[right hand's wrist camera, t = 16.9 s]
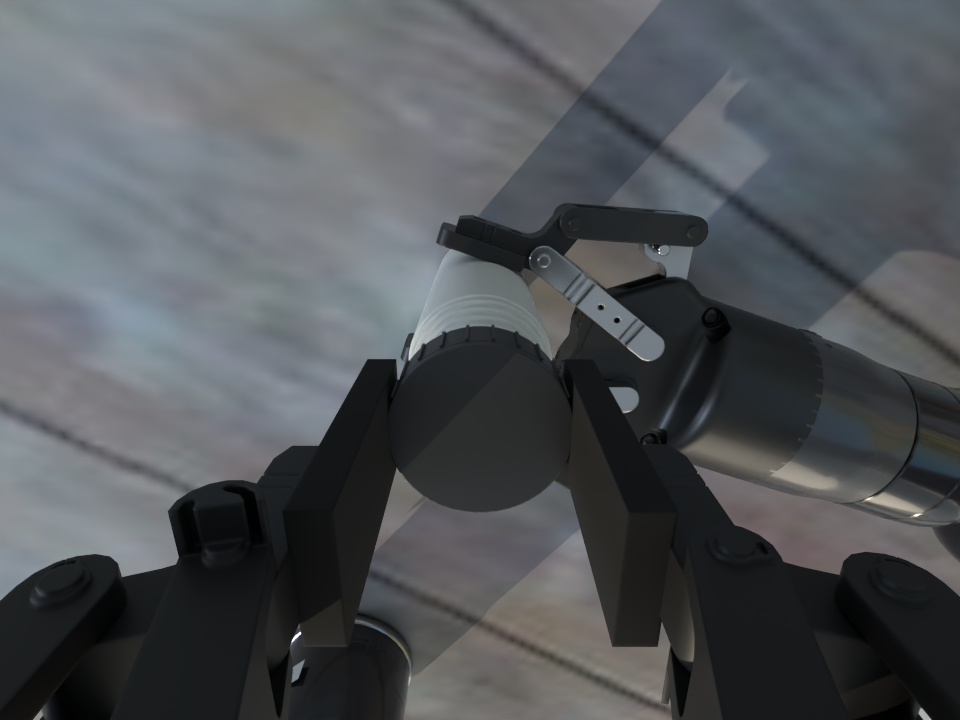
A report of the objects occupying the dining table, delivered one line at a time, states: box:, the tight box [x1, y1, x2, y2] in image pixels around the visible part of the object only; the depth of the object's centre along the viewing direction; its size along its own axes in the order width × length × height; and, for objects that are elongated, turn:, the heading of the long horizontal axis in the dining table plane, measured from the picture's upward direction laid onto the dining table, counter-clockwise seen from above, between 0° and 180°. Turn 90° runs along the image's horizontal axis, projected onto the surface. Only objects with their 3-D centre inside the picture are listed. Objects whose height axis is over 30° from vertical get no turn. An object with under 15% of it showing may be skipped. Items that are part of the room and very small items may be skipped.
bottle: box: [409, 249, 552, 361], centre depth 22 cm, size 5×5×18 cm
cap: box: [388, 325, 573, 512], centre depth 14 cm, size 5×5×2 cm
